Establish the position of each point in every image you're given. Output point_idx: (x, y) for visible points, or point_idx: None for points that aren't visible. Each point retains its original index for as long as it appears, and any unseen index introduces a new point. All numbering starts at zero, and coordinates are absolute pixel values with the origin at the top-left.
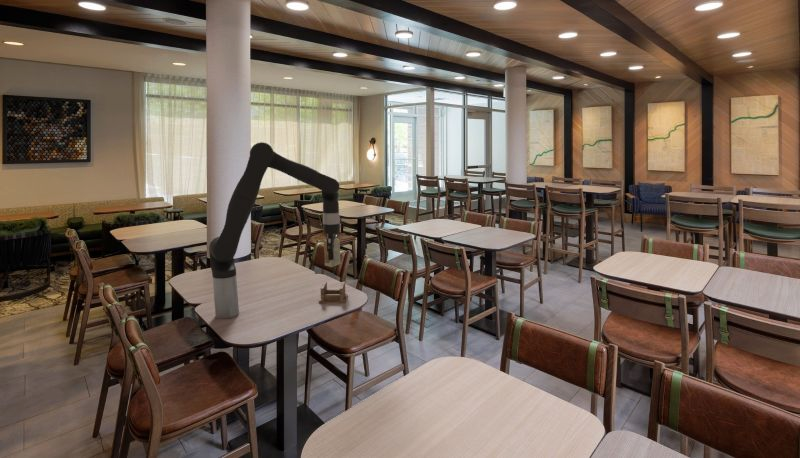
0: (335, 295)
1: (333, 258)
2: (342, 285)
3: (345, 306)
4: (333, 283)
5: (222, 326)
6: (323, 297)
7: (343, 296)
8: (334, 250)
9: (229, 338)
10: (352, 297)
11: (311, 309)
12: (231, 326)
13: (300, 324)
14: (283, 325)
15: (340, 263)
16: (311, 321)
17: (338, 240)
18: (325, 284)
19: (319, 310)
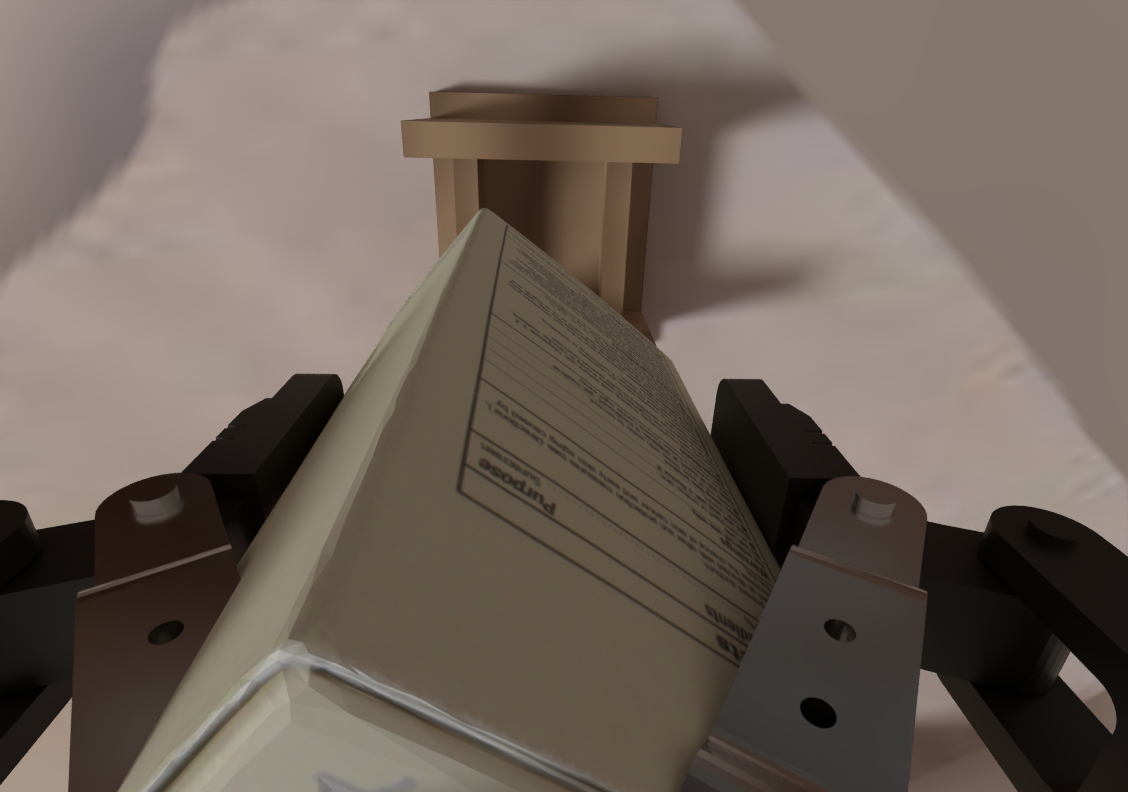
0: (627, 209)
1: (748, 385)
2: (559, 141)
3: (739, 84)
4: (84, 290)
5: (932, 750)
6: (643, 322)
7: (588, 122)
8: (659, 467)
9: (1098, 688)
10: (482, 27)
11: (768, 377)
12: (945, 719)
13: (1041, 401)
14: (1020, 497)
15: (487, 210)
16: (1012, 337)
17: (447, 613)
18: None
19: (800, 314)
